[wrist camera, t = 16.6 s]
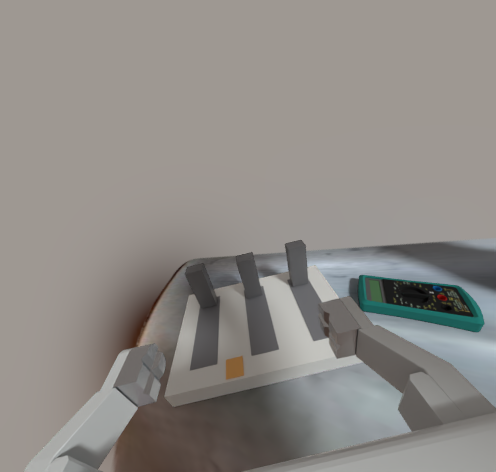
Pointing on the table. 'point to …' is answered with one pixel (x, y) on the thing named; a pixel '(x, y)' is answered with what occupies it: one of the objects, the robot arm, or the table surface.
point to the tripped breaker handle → (249, 275)
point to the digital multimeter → (420, 302)
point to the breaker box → (252, 339)
